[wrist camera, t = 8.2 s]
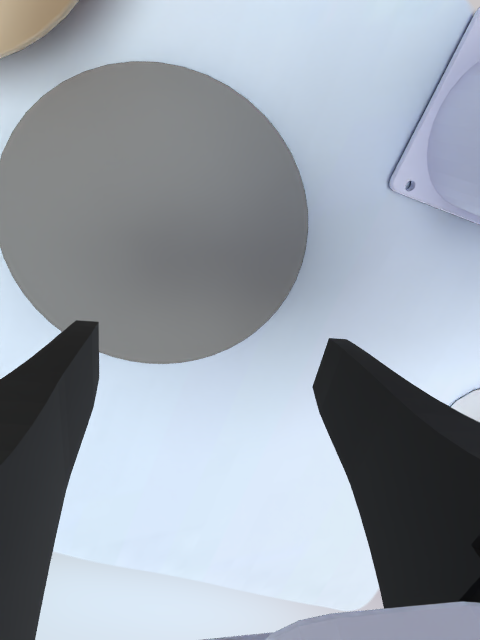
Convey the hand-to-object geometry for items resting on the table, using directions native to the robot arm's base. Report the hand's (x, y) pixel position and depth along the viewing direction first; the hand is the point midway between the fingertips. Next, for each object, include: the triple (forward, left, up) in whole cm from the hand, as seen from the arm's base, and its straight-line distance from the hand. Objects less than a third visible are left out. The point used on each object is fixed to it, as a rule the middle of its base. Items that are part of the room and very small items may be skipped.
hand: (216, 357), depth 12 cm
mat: (+2, 0, -9) cm, 10 cm away
